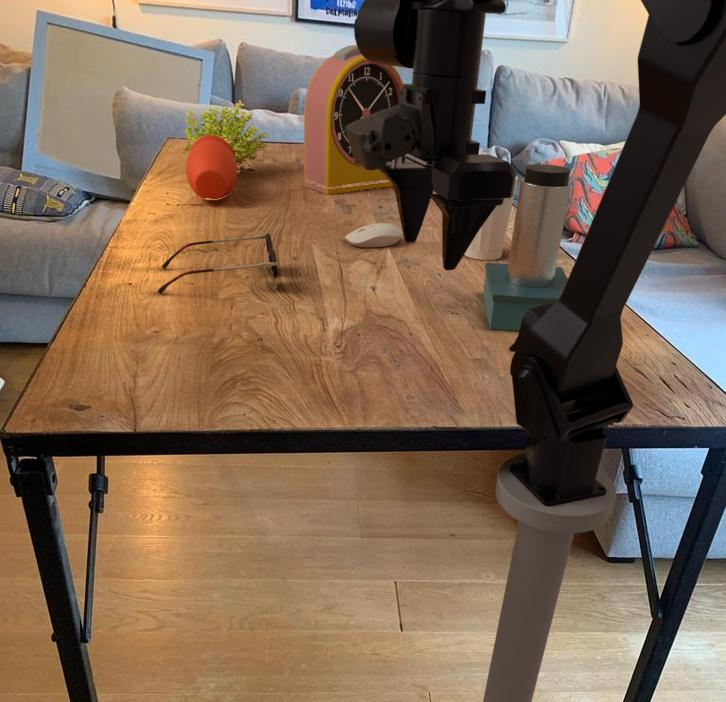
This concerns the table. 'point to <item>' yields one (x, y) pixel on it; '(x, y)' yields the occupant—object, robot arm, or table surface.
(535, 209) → the flask
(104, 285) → the table surface
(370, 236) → the computer mouse
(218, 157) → the potted plant
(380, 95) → the alarm clock
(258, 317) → the table surface
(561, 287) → the lidded box
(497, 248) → the cup
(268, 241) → the sunglasses
